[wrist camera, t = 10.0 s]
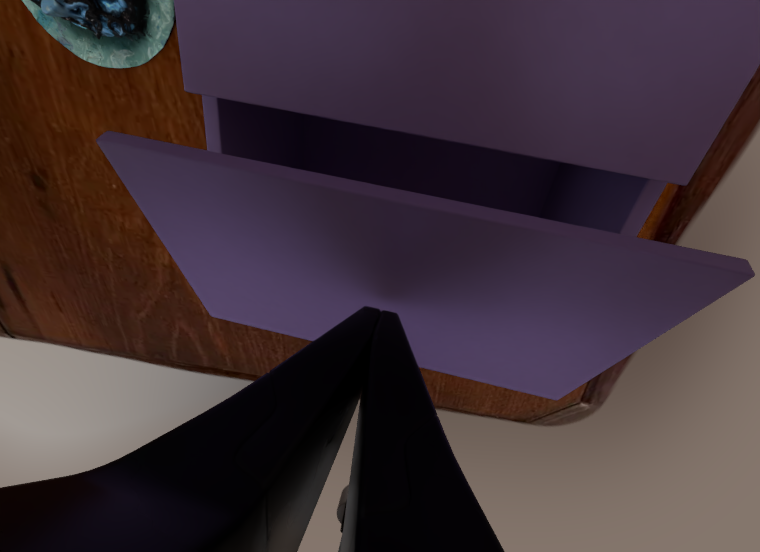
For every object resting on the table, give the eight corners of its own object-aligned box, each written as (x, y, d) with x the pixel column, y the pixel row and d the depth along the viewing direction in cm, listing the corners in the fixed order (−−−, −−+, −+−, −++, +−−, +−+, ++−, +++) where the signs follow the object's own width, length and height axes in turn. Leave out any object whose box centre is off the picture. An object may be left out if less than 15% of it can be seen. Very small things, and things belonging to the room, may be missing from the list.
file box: (518, 283, 19) (558, 400, 12) (295, 234, 20) (209, 315, 13) (674, -92, 12) (1032, -377, 4) (306, -138, 13) (117, -430, 6)
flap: (556, 389, 12) (557, 401, 12) (216, 308, 13) (210, 316, 13) (748, 259, 6) (758, 276, 6) (107, 129, 7) (94, 139, 7)
